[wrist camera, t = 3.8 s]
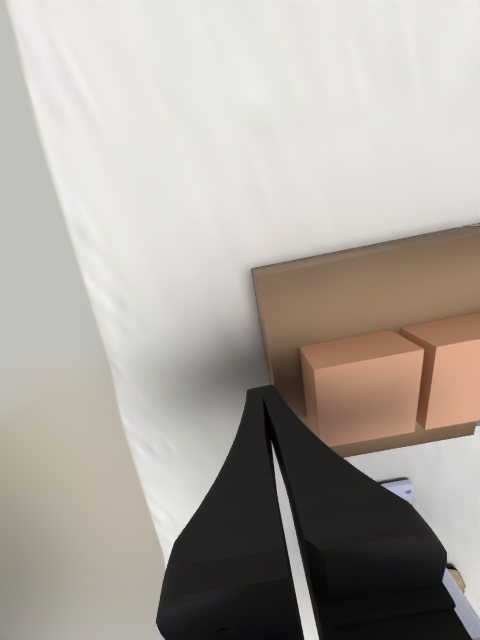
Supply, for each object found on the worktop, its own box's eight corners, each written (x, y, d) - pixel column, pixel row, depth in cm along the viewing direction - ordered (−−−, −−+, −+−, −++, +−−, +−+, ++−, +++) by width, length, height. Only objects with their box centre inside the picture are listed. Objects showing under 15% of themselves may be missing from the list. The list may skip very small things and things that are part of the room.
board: (431, 400, 17) (473, 434, 14) (278, 428, 17) (288, 467, 14) (457, 227, 12) (524, 225, 9) (251, 268, 13) (257, 278, 10)
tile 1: (476, 386, 12) (520, 412, 11) (395, 400, 12) (425, 429, 11) (494, 310, 11) (549, 325, 9) (401, 328, 11) (436, 347, 9)
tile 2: (386, 402, 13) (414, 431, 11) (307, 417, 13) (320, 448, 11) (390, 330, 11) (424, 349, 9) (299, 347, 11) (313, 369, 9)
